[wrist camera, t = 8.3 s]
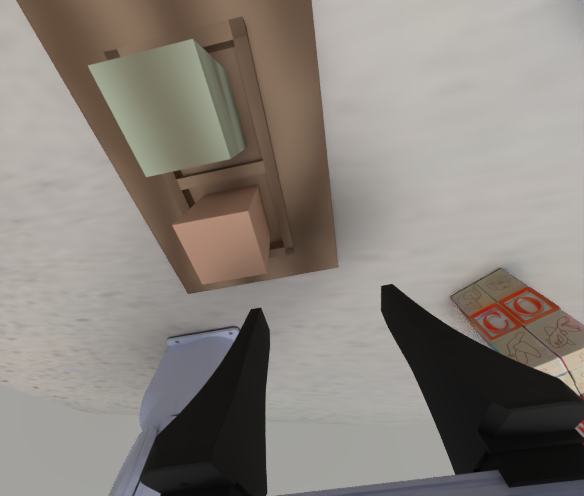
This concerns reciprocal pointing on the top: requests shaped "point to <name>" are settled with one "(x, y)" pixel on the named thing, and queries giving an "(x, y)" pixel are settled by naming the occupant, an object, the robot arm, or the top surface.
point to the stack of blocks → (526, 327)
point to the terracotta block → (226, 235)
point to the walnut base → (262, 104)
